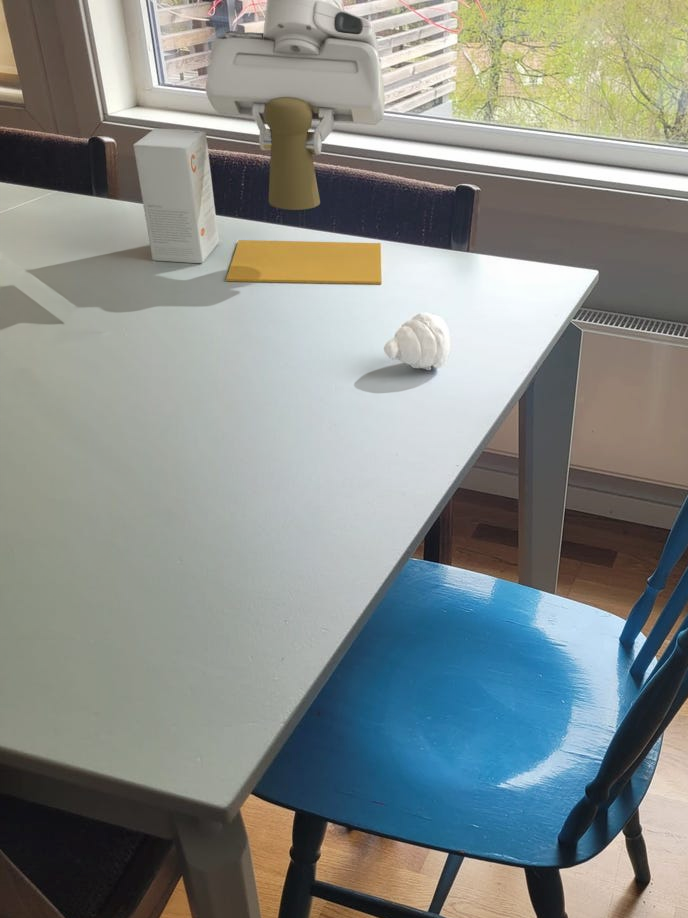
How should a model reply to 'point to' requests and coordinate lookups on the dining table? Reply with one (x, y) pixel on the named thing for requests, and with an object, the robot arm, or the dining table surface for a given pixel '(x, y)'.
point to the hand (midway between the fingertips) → (290, 149)
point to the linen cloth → (306, 262)
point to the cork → (291, 155)
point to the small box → (177, 194)
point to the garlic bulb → (421, 342)
